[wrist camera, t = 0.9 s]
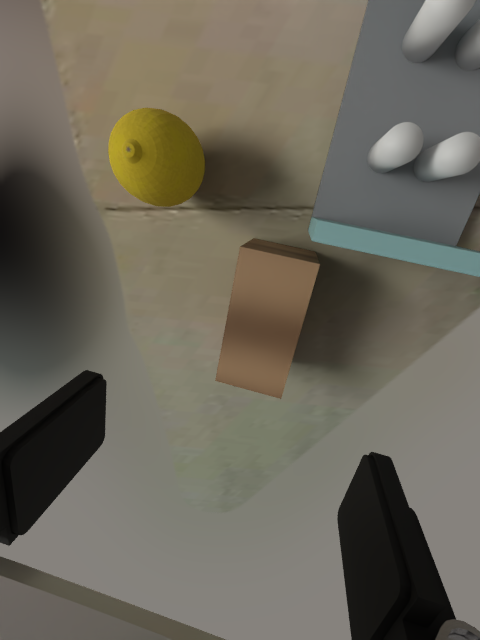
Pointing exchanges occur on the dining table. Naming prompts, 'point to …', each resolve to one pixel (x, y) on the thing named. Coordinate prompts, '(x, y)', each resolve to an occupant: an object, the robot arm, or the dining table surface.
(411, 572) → the robot arm
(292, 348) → the brown wooden block
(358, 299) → the dining table surface
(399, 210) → the peg frame
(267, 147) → the dining table surface
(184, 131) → the lemon
